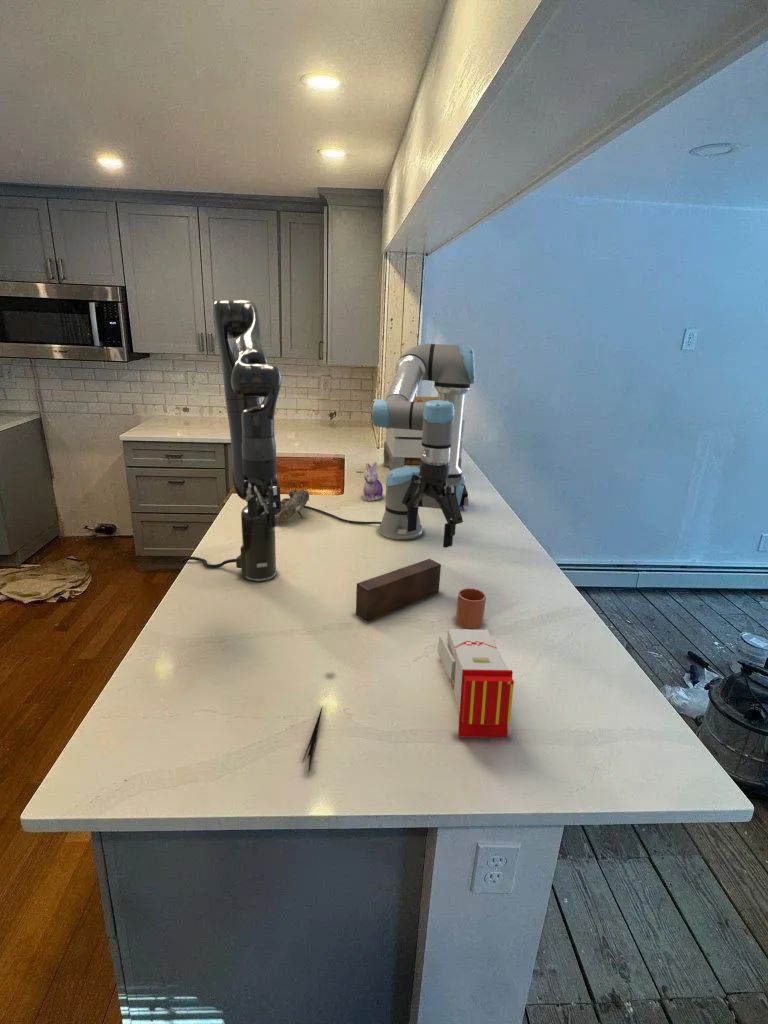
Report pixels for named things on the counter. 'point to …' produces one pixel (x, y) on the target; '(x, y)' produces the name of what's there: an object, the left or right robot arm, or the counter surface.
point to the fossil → (291, 505)
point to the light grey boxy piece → (408, 444)
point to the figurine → (372, 484)
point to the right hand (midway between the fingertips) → (429, 538)
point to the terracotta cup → (470, 608)
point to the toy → (478, 682)
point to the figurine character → (464, 498)
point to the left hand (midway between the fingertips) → (261, 522)
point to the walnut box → (397, 589)
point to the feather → (313, 740)
